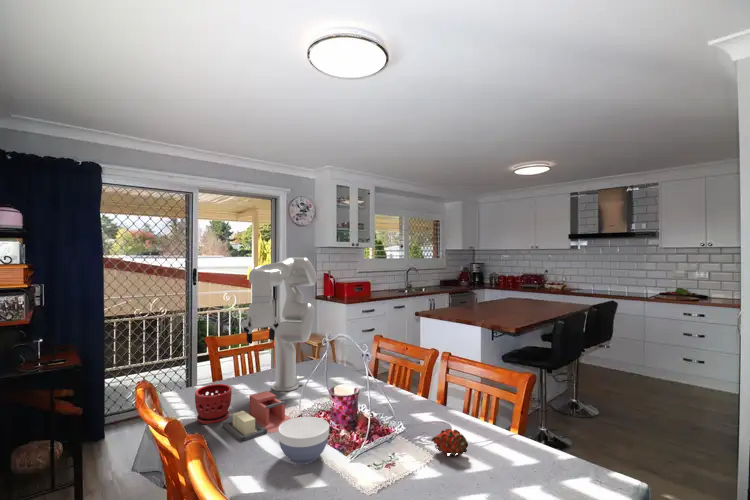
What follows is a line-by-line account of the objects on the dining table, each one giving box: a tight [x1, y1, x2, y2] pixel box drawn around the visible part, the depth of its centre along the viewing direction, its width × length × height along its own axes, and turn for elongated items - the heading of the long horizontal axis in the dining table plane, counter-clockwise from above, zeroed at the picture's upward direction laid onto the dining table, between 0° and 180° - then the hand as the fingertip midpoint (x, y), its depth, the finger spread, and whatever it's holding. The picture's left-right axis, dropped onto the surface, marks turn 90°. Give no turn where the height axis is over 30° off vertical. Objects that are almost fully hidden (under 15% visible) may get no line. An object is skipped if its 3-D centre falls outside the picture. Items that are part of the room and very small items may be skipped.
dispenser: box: [246, 390, 292, 434], centre depth 152 cm, size 22×12×8 cm, turn 43°
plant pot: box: [194, 383, 232, 425], centre depth 153 cm, size 13×13×12 cm
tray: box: [222, 419, 268, 442], centre depth 143 cm, size 9×16×2 cm, turn 43°
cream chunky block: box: [232, 410, 256, 436], centre depth 143 cm, size 10×4×5 cm, turn 43°
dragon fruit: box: [431, 428, 469, 456], centre depth 128 cm, size 8×8×12 cm
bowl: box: [277, 416, 330, 465], centre depth 126 cm, size 16×16×10 cm
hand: (260, 341), depth 163 cm, fingers open, 9 cm apart
